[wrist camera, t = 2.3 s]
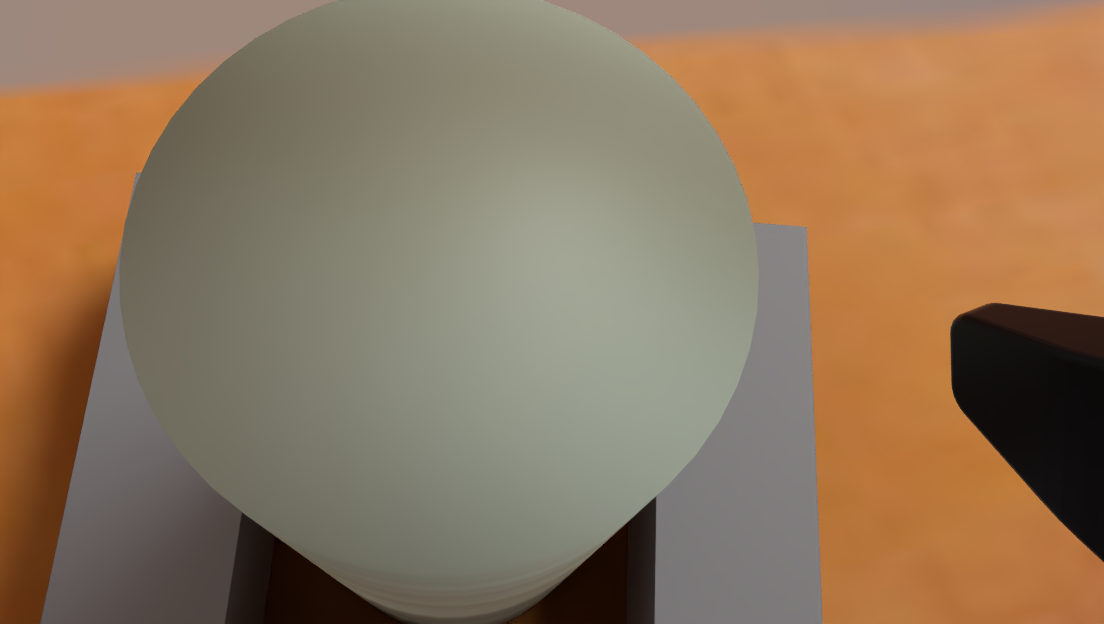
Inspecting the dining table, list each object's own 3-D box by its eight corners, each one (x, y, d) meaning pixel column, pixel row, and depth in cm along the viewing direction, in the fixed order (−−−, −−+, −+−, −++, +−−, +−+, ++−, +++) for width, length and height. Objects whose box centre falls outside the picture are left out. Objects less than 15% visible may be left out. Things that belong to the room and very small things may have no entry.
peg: (582, 641, 18) (765, 593, 7) (307, 625, 18) (54, 552, 7) (591, 380, 20) (753, 11, 9) (341, 361, 20) (181, -41, 9)
